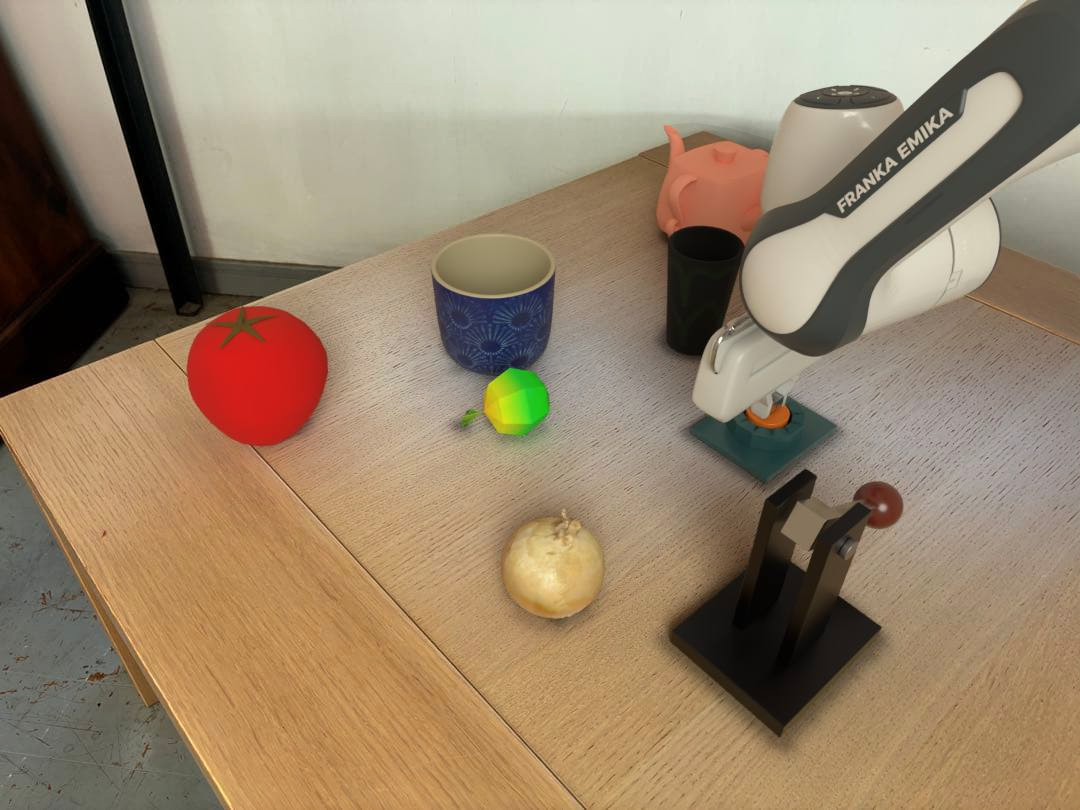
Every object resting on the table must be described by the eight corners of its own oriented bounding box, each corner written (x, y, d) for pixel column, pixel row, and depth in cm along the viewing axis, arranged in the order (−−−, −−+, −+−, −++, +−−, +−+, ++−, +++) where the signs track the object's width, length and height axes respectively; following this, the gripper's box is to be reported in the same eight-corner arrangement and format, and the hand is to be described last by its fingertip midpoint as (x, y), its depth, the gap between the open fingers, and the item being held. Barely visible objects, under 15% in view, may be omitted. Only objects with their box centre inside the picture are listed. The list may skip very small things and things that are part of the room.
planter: (461, 400, 83) (455, 308, 76) (423, 333, 91) (414, 246, 84) (573, 369, 87) (576, 280, 80) (526, 308, 95) (525, 223, 88)
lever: (854, 509, 65) (876, 470, 64) (895, 535, 63) (919, 496, 62) (766, 533, 54) (792, 487, 53) (813, 566, 52) (840, 519, 51)
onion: (595, 640, 62) (601, 581, 57) (491, 624, 63) (488, 565, 58) (607, 557, 68) (613, 498, 63) (512, 544, 69) (511, 484, 64)
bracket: (768, 558, 68) (807, 423, 58) (877, 638, 62) (940, 503, 52) (669, 641, 62) (694, 506, 52) (779, 738, 56) (831, 606, 46)
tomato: (204, 478, 74) (164, 366, 66) (208, 397, 83) (173, 290, 75) (343, 453, 77) (321, 343, 69) (333, 377, 85) (312, 272, 77)
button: (761, 403, 81) (764, 391, 80) (795, 424, 79) (798, 411, 78) (735, 421, 79) (737, 408, 78) (769, 442, 77) (772, 430, 76)
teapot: (654, 207, 115) (664, 117, 107) (776, 219, 112) (796, 128, 104) (643, 261, 104) (653, 165, 96) (778, 276, 101) (800, 179, 93)
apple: (548, 352, 77) (458, 379, 73) (571, 417, 76) (481, 446, 73) (525, 371, 83) (441, 395, 80) (546, 430, 83) (463, 457, 79)
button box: (760, 386, 85) (764, 366, 83) (835, 430, 80) (842, 411, 78) (689, 433, 79) (692, 413, 78) (765, 484, 74) (770, 464, 73)
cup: (736, 358, 88) (756, 259, 81) (667, 365, 87) (681, 266, 80) (713, 318, 94) (729, 222, 87) (648, 323, 93) (659, 227, 86)
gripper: (750, 349, 62) (722, 479, 71) (897, 258, 72) (856, 382, 81) (686, 313, 65) (667, 441, 74) (834, 231, 76) (802, 352, 85)
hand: (766, 409), depth 78 cm, fingers closed, pressing on button
